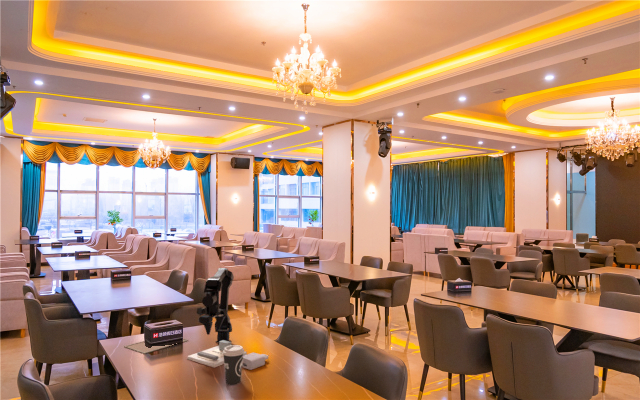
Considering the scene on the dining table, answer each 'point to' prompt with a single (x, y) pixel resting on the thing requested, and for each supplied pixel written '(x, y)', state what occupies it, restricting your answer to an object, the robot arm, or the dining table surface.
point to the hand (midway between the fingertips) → (213, 332)
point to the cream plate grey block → (222, 346)
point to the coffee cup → (233, 363)
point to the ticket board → (210, 363)
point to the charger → (253, 360)
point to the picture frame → (143, 349)
